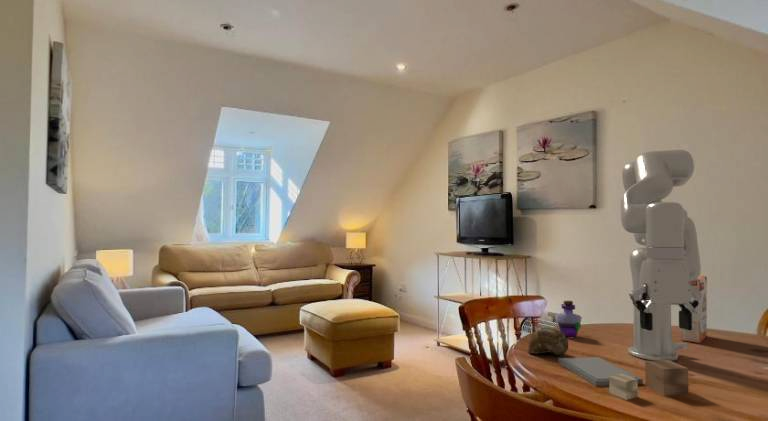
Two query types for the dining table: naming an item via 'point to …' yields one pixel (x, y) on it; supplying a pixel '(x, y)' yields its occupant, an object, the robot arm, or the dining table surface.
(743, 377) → the dining table surface
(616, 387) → the beech block
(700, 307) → the cracker box
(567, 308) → the potion bottle
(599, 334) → the dining table surface
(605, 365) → the plate
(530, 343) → the grey-brown rock
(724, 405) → the dining table surface
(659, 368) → the walnut cube
